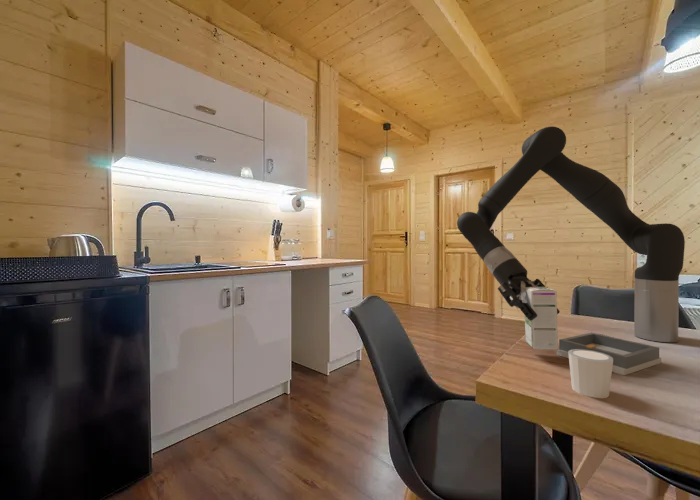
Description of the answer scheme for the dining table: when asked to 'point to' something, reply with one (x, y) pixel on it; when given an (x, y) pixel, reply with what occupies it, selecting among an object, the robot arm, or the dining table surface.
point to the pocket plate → (614, 351)
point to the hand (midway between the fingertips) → (545, 316)
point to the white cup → (590, 372)
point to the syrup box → (542, 318)
